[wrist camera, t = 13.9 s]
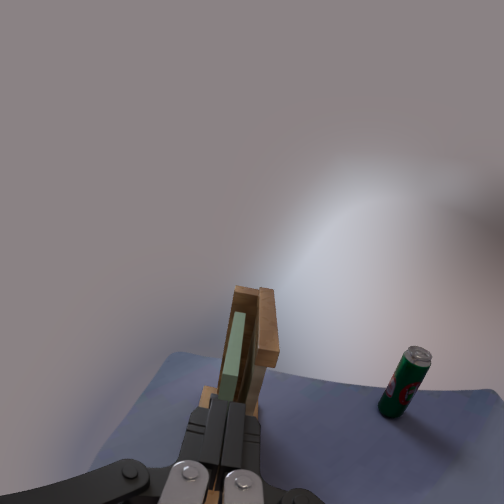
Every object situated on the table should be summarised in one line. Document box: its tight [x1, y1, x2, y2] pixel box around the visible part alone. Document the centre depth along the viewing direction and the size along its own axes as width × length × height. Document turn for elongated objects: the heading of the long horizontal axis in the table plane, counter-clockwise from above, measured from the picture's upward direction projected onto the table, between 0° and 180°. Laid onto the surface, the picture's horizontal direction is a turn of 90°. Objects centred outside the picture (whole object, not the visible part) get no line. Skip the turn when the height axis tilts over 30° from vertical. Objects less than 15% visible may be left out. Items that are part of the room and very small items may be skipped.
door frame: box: [199, 286, 280, 504], centre depth 25 cm, size 8×25×19 cm, turn 178°
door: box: [208, 312, 246, 415], centre depth 27 cm, size 2×11×15 cm, turn 178°
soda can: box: [378, 346, 432, 418], centre depth 37 cm, size 5×5×12 cm
